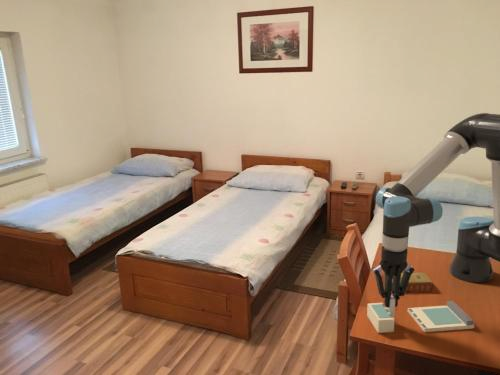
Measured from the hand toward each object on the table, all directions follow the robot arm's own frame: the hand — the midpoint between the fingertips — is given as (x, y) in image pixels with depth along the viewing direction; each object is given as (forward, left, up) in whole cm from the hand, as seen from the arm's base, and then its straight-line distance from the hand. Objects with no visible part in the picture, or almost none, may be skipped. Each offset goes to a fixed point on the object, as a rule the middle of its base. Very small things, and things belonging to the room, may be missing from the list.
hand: (390, 315), depth 137 cm
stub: (+3, 0, -3) cm, 4 cm away
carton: (-16, -23, -4) cm, 28 cm away
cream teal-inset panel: (-17, 0, -3) cm, 17 cm away
